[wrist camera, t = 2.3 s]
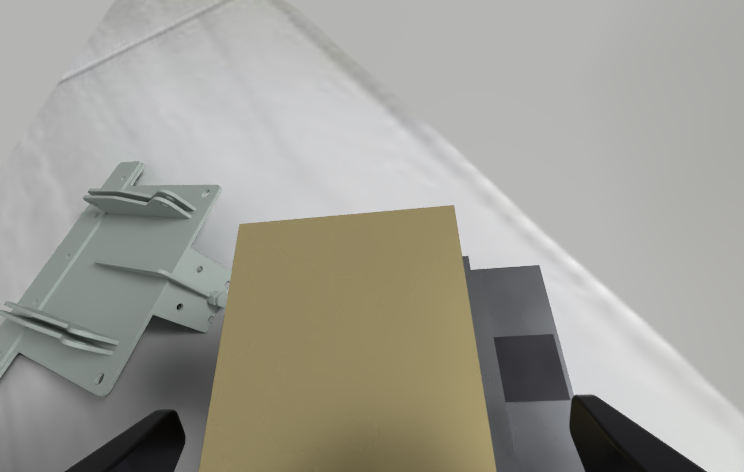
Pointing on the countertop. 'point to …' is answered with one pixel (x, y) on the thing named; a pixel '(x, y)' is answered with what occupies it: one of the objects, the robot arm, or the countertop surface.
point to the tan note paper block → (349, 350)
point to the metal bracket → (117, 280)
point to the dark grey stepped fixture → (521, 370)
